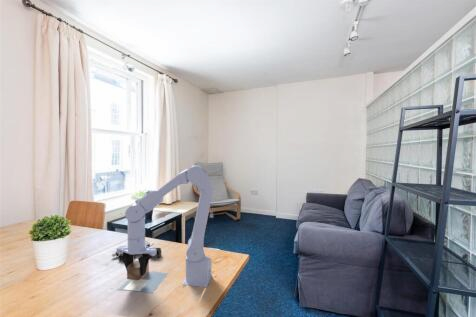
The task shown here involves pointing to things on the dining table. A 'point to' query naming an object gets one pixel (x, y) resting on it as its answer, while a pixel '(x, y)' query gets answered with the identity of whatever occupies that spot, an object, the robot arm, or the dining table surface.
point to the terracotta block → (146, 269)
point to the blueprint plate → (144, 283)
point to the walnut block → (134, 271)
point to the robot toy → (134, 254)
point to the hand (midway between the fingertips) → (136, 273)
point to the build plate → (157, 253)
